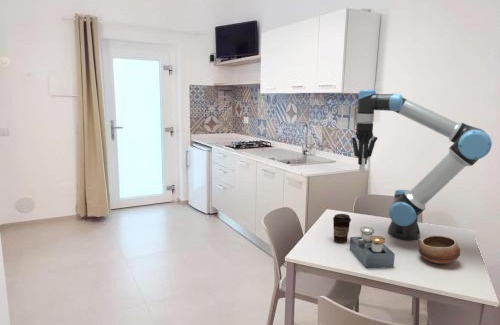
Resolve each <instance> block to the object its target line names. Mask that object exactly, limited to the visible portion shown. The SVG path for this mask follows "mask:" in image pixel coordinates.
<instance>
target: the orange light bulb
mask: <svg viewBox="0 0 500 325" xmlns="http://www.w3.org/2000/svg"><path fill="white" fill-rule="evenodd" d="M370 241H371V242H372V247H371V252H372V253H373V254H378V253H382V249H383V244H385V242H386V238H385V237H383V236H380V235H372V236H371V238H370Z"/></svg>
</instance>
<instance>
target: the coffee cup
mask: <svg viewBox="0 0 500 325" xmlns="http://www.w3.org/2000/svg"><path fill="white" fill-rule="evenodd" d="M332 220H333V222H332V223H333V242H335V243H339V244H346V243H348V237H349V230H350V223H351V221H352V219H351V216H350V215H349V214H347V213H337V214H335V215H334V217H333V218H332Z"/></svg>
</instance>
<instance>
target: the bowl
mask: <svg viewBox="0 0 500 325" xmlns="http://www.w3.org/2000/svg"><path fill="white" fill-rule="evenodd" d="M417 246H418V251H419V254H420V255H421V257H422V258H424V259H425V260H427V261H429V262H431V263H434V264H448V263H452V262H455V261H456V260H457V259H458V258H459V257H460V256H461V250H460V246H459V244H458V242H457V241H456V240H455V239H454V238H451V237H449V236H446V235H429V236H426V237H423V238H419V239H418V242H417Z"/></svg>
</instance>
